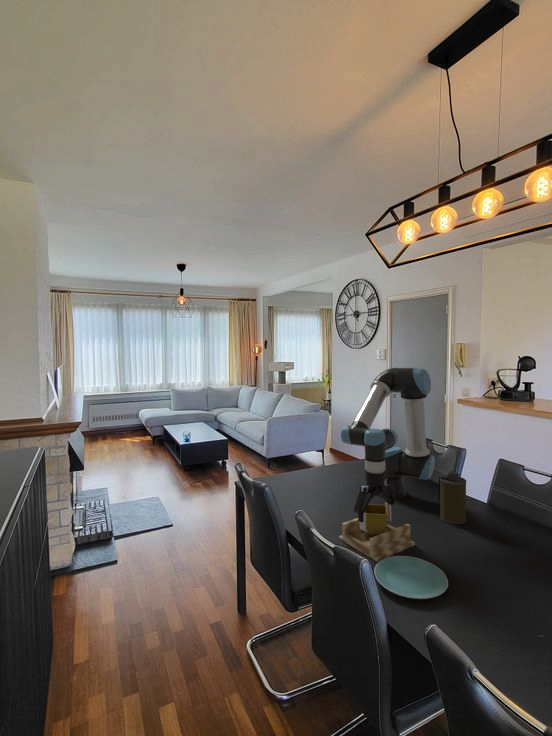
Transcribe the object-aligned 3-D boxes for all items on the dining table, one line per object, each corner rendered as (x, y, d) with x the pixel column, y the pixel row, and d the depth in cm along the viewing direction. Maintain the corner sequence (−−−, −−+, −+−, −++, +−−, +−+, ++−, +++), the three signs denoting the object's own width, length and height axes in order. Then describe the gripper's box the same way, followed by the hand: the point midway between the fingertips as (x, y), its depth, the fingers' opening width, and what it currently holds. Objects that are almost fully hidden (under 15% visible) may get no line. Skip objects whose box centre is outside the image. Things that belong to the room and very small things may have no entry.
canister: (469, 518, 167) (469, 472, 165) (461, 526, 159) (461, 479, 158) (443, 511, 174) (443, 467, 173) (435, 519, 166) (434, 473, 165)
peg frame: (375, 524, 163) (374, 508, 162) (414, 545, 146) (414, 527, 146) (338, 538, 152) (338, 521, 152) (377, 562, 135) (376, 542, 135)
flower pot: (388, 538, 144) (388, 514, 143) (364, 536, 145) (364, 513, 145) (386, 527, 152) (386, 504, 152) (363, 525, 154) (363, 503, 153)
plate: (441, 616, 108) (441, 606, 108) (364, 591, 120) (364, 582, 120) (453, 575, 127) (453, 566, 127) (385, 557, 139) (385, 549, 139)
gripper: (390, 462, 157) (390, 513, 158) (343, 474, 144) (344, 529, 145) (405, 466, 151) (405, 519, 152) (357, 480, 138) (358, 538, 139)
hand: (375, 524), depth 149 cm, fingers open, 13 cm apart
